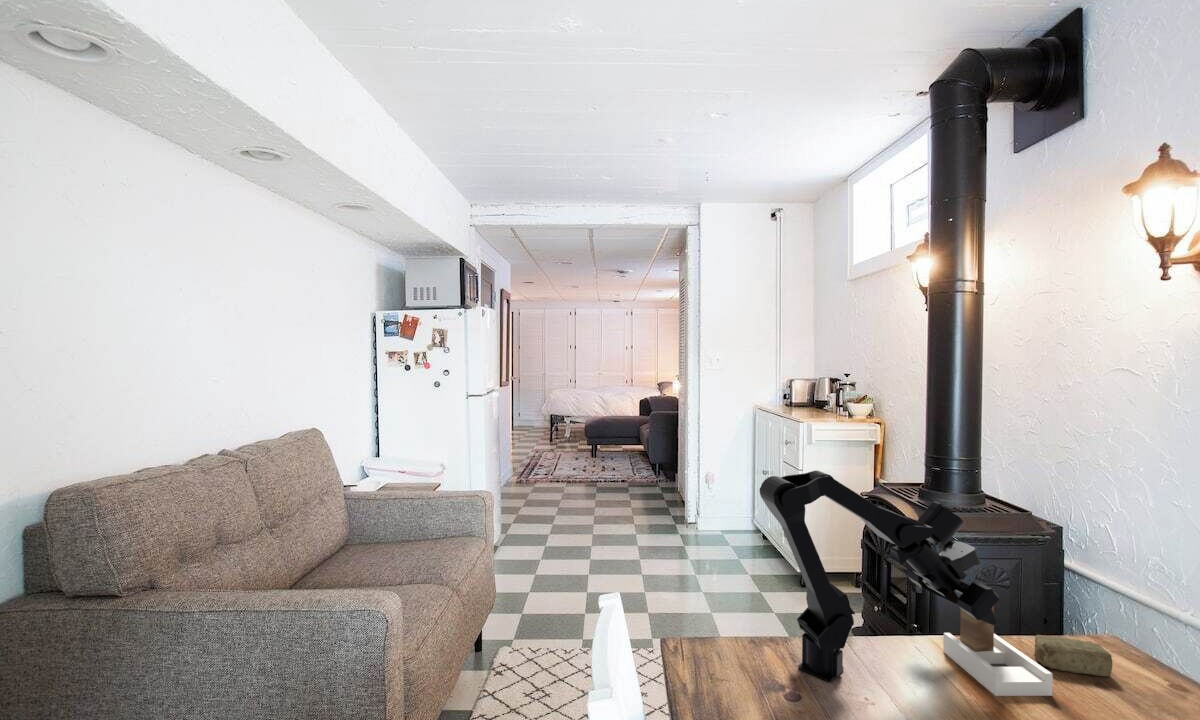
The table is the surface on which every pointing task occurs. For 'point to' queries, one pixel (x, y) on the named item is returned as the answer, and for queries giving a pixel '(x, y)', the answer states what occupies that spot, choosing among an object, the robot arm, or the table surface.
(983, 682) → the walled channel
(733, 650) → the table surface
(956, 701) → the table surface
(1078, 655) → the stone block
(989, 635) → the walnut block
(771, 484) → the robot arm
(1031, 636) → the table surface
